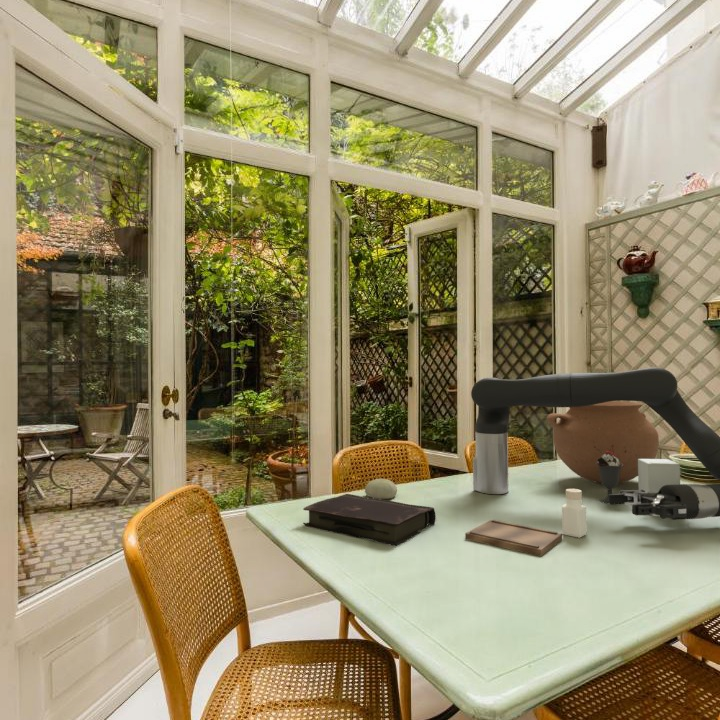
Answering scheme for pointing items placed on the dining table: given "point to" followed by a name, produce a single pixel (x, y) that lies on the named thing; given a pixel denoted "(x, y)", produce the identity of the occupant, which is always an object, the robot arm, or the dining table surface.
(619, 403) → the clay pot
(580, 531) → the salt shaker
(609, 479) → the sundae
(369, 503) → the diary
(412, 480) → the dining table surface
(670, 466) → the supplement box
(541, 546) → the walnut board
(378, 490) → the sea urchin shell
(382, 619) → the dining table surface
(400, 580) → the dining table surface
